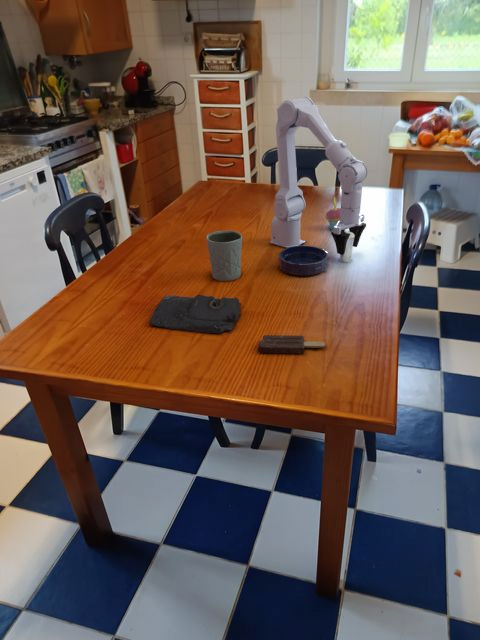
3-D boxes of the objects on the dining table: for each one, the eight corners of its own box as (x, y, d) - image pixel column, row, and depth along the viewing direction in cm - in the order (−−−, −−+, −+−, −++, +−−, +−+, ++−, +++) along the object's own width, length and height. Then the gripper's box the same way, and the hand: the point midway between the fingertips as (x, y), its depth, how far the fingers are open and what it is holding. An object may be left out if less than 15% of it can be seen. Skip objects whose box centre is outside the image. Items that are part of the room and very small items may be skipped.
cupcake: (333, 233, 171) (335, 199, 164) (320, 226, 177) (322, 193, 170) (353, 229, 174) (356, 195, 167) (340, 222, 180) (342, 190, 174)
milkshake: (354, 263, 149) (357, 232, 143) (337, 262, 150) (339, 231, 144) (355, 258, 153) (358, 227, 147) (338, 257, 154) (340, 226, 148)
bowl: (269, 269, 147) (268, 256, 145) (297, 253, 157) (298, 241, 154) (309, 281, 139) (309, 268, 137) (336, 264, 149) (337, 252, 146)
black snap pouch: (168, 298, 133) (165, 283, 130) (246, 305, 128) (245, 289, 126) (144, 327, 120) (141, 310, 118) (230, 335, 116) (228, 318, 113)
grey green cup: (204, 279, 142) (200, 240, 136) (218, 266, 150) (215, 228, 144) (236, 283, 139) (233, 244, 133) (249, 270, 147) (247, 231, 140)
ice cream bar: (324, 341, 113) (259, 340, 114) (324, 335, 112) (259, 334, 113) (325, 354, 108) (258, 353, 109) (325, 348, 107) (258, 347, 108)
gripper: (349, 215, 135) (346, 260, 143) (374, 202, 144) (370, 245, 152) (328, 210, 139) (325, 255, 146) (354, 198, 148) (350, 240, 156)
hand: (347, 249), depth 149 cm, fingers open, 7 cm apart
